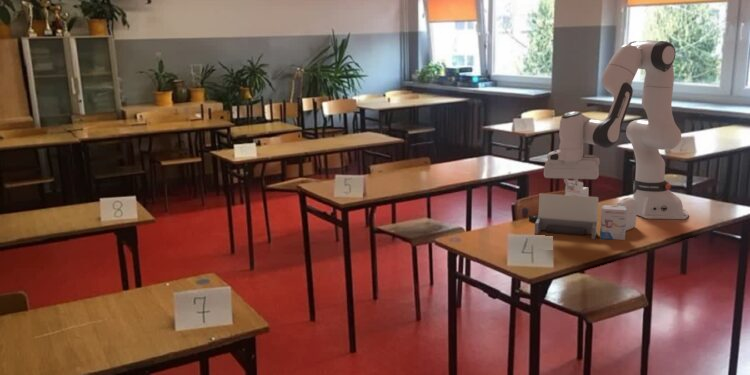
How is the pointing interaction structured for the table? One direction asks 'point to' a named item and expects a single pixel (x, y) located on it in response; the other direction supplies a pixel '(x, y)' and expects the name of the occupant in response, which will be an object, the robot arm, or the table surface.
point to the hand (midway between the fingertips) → (570, 189)
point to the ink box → (613, 222)
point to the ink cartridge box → (577, 189)
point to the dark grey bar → (566, 230)
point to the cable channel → (544, 222)
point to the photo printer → (629, 211)
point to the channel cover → (568, 207)
